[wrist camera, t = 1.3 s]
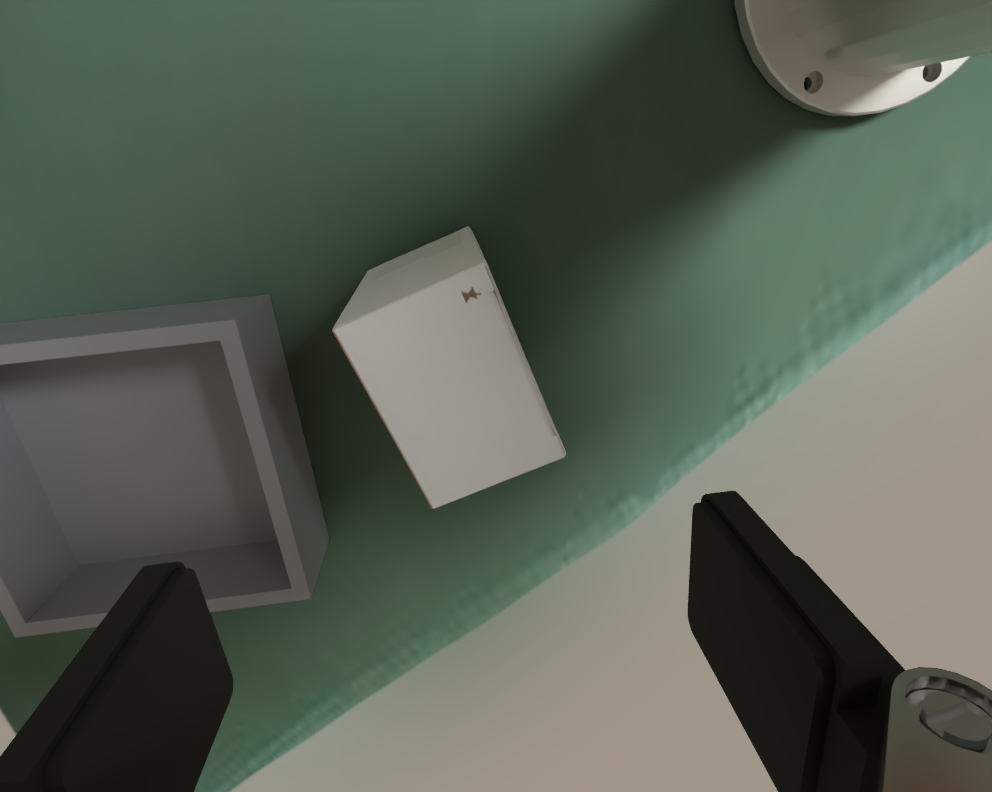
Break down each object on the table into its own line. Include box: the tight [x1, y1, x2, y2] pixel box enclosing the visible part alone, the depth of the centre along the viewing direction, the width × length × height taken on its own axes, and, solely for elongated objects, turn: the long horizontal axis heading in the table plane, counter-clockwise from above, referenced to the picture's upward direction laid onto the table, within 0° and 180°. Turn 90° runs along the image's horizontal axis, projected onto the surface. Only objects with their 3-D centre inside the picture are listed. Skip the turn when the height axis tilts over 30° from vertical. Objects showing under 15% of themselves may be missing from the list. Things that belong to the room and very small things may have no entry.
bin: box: [0, 294, 330, 638], centre depth 28 cm, size 15×15×5 cm
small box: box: [332, 226, 566, 509], centre depth 24 cm, size 8×6×10 cm
